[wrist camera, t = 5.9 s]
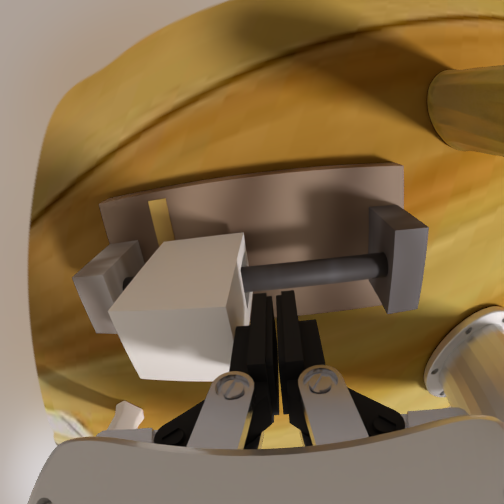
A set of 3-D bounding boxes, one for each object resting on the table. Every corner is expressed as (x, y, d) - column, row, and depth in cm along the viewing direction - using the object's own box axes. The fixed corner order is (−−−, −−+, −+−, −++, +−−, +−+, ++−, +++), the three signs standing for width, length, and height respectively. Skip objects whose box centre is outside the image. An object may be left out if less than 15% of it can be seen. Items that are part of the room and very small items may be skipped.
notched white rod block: (243, 232, 17) (225, 306, 10) (252, 291, 19) (243, 380, 12) (163, 241, 17) (107, 311, 11) (178, 296, 19) (140, 378, 12)
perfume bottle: (155, 419, 30) (123, 521, 16) (131, 420, 31) (97, 512, 17) (132, 397, 29) (90, 504, 15) (109, 400, 29) (66, 495, 16)
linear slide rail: (394, 162, 17) (445, 181, 11) (389, 292, 21) (420, 346, 15) (108, 198, 19) (55, 229, 13) (144, 313, 23) (114, 366, 17)
